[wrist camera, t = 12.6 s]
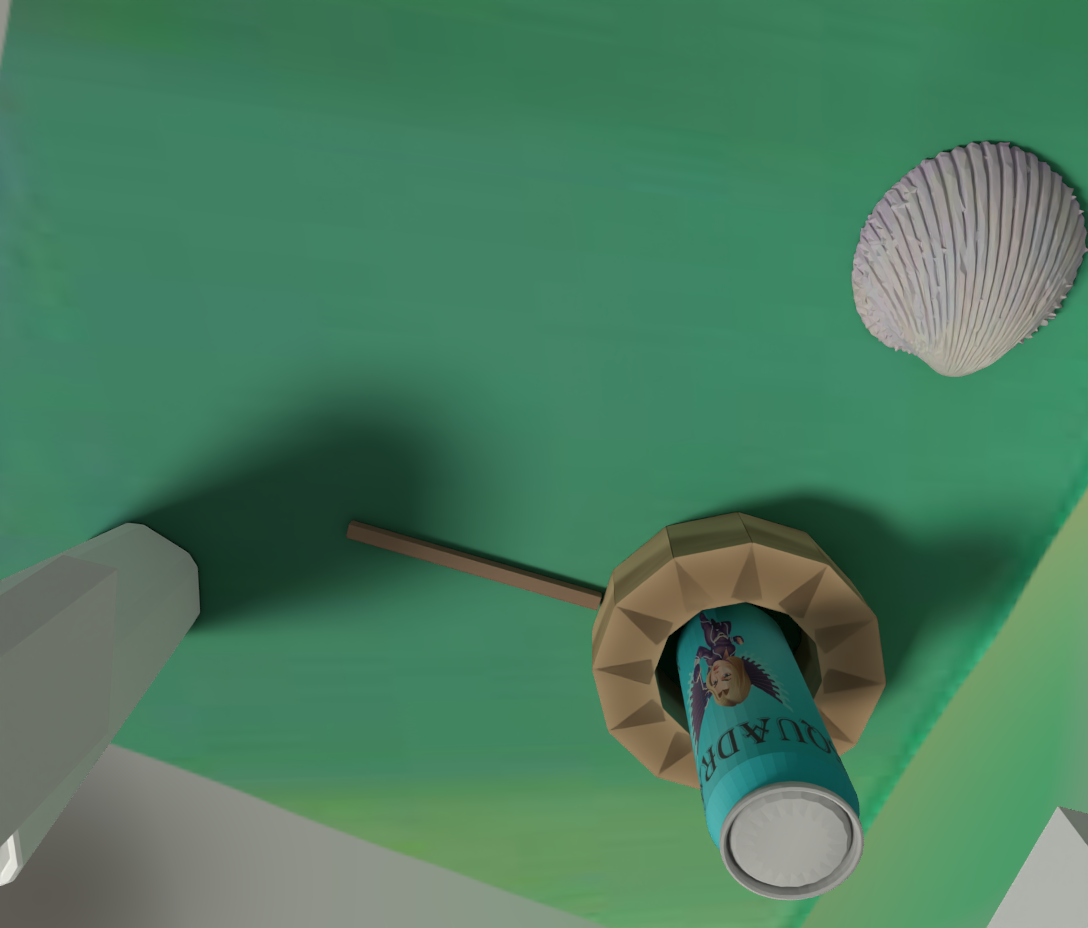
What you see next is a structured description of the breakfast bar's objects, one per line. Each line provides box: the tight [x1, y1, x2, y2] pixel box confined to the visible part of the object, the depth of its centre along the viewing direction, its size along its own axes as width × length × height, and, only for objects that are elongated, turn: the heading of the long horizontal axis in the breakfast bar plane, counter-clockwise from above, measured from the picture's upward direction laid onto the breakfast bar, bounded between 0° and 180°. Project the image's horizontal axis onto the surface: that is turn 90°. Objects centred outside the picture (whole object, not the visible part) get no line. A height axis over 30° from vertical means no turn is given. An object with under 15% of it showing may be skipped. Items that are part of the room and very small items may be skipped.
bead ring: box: [592, 512, 886, 790], centre depth 41 cm, size 14×14×4 cm
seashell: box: [852, 141, 1088, 377], centre depth 35 cm, size 10×6×10 cm
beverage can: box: [676, 602, 864, 900], centre depth 35 cm, size 6×6×15 cm
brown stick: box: [346, 520, 601, 610], centre depth 42 cm, size 1×14×1 cm, turn 74°
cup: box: [0, 523, 200, 886], centre depth 36 cm, size 11×10×17 cm
